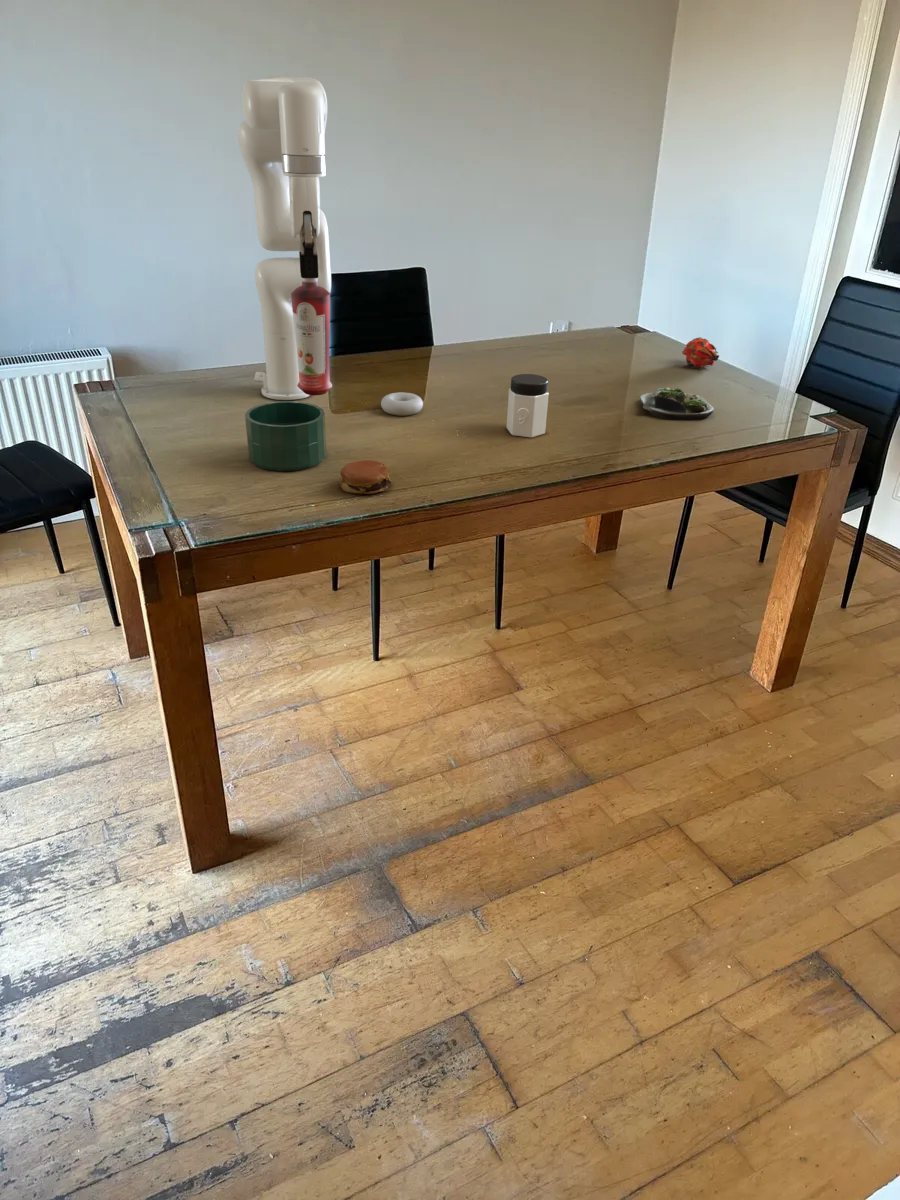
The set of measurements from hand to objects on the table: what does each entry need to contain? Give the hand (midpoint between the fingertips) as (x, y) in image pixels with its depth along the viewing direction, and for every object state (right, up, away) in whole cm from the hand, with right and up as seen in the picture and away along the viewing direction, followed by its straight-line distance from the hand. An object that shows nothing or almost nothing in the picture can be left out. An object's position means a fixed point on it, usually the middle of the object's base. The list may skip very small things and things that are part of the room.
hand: (309, 275), depth 162 cm
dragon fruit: (+98, +6, +87) cm, 131 cm away
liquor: (-1, -19, +12) cm, 22 cm away
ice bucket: (-7, -31, +17) cm, 36 cm away
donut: (+15, -16, +46) cm, 50 cm away
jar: (+43, -22, +36) cm, 60 cm away
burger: (+10, -39, +6) cm, 41 cm away
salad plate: (+81, -14, +52) cm, 98 cm away
